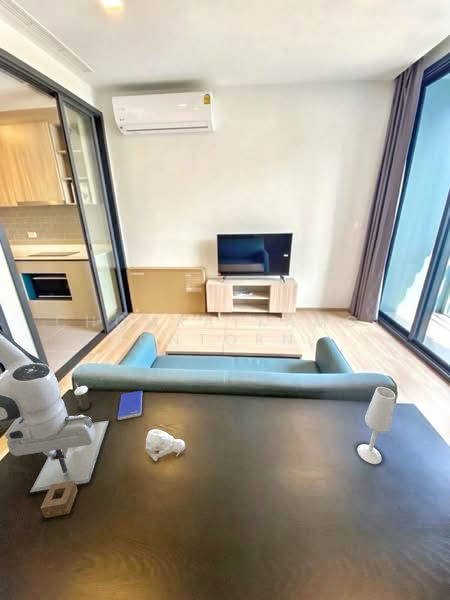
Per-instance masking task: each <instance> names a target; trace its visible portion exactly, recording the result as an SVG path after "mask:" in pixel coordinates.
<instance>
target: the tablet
mask: <svg viewBox="0 0 450 600" xmlns="http://www.w3.org/2000/svg"><path fill="white" fill-rule="evenodd" d="M109 423H110V421H109V420H105V421H97V422H96V421H95V422H92V424H93V426H94V428H95V431H96V434H95V438H94V440H93V442H92V443H91V444H90V445H86V446H79V447H72V448H69V449H68V450H69V456H68V458H65V459H64V460H65V463H66V466H67V469H68V471H67V472H66V473H63V471H62V468H61V465H60V462H59V459H57V460H53V461H51V459H50V457H49V456H47V458H46V461H45V462H44V465H43V467H42V468H41V470H40V472H39V474H38V476H37V478H36V480H35V482H34V484H33V486H32V487H31V489H30V491H29V493H30V495H36V494H40V493H41V494H42V493H48V491H49V489H50V486H51V484H56V483H62V482H68V481H74V480H75V483H76V486H77V487H80V486H87V485H90V483H91V479H92V476H93V473H94V470H95V468H96V465H97V461H98V458H99V455H100V451H101V448H102V445H103V442H104V440H105V436H106V433H107V430H108V428H109ZM61 451H62V449H61Z"/></svg>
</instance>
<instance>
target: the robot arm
mask: <svg viewBox="0 0 450 600" xmlns="http://www.w3.org/2000/svg"><path fill="white" fill-rule="evenodd" d="M0 363H1V364H2V365H3V366H4V368H5V370H4V371H3V372H2V373H1V374H0V423H3V422H9V421H13V422H12V423H11V425H10V426H9V427H8V429H7V430H6V432H5V434H4V437H5V439H6V443H7V448H8V451H9V453H10V454H11V455H13V456H15V457H20V456H24V455H25V456H26V455H32V454H40V453H42V454H43V455H45V456H47V457H50V459H51V461H53V460H57V459H58V457H57V454H56V451H55V450H59V449H62V453H61V454H60V457H61V459H65V458H68V456H69V450H68V449H69V448H72V447H79V446H86V445H90V444H91V443H92V442H93V440H94V438H95V434H96V431H95V428H94V426H93V424H92V423H93V419H92V418H91V417H90V416H87V415H85V414H80V415H71V416H69V414H68V411H67V407H66V404H65V401H64V399H62V397H61V387H60V384H59V381H58V379H57V377H56V374H55V373H54V371H53V370H52V368H51V367H50V366H49V365H47V364H46V362H45V361H43V360H42V359H40V358H39V357H38V356H37V357H36V356H35V355H32V354H31V353H30V352H29V351H27V350H26V349H25V348H24V347H22V346H21V345H19V343H17V342H16V341H15V340H14V339H12V338H11V337H10V336H9V335H8V334H6V333H5V332H4V331H3V330H2V329H0Z"/></svg>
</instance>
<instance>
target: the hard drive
mask: <svg viewBox="0 0 450 600" xmlns="http://www.w3.org/2000/svg"><path fill="white" fill-rule="evenodd" d="M142 404H143V391H142V390H138V391H132V392H127V393H122V394H121V395H120V400H119V405H118V413H117V420H118V421H120V420H121V421H122V420H126V419H131V418H136V417H140V416H142Z"/></svg>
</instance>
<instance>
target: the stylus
mask: <svg viewBox="0 0 450 600" xmlns="http://www.w3.org/2000/svg"><path fill="white" fill-rule="evenodd" d="M55 451H56V454H57V457H58V459H59V462H60V465H61V468H62V471H63V473H66V472H67V471H68V469H67V466H66V463H65V460H64V459H61V457H60V454H61V453H62V451H61V449H59V450H55Z"/></svg>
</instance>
